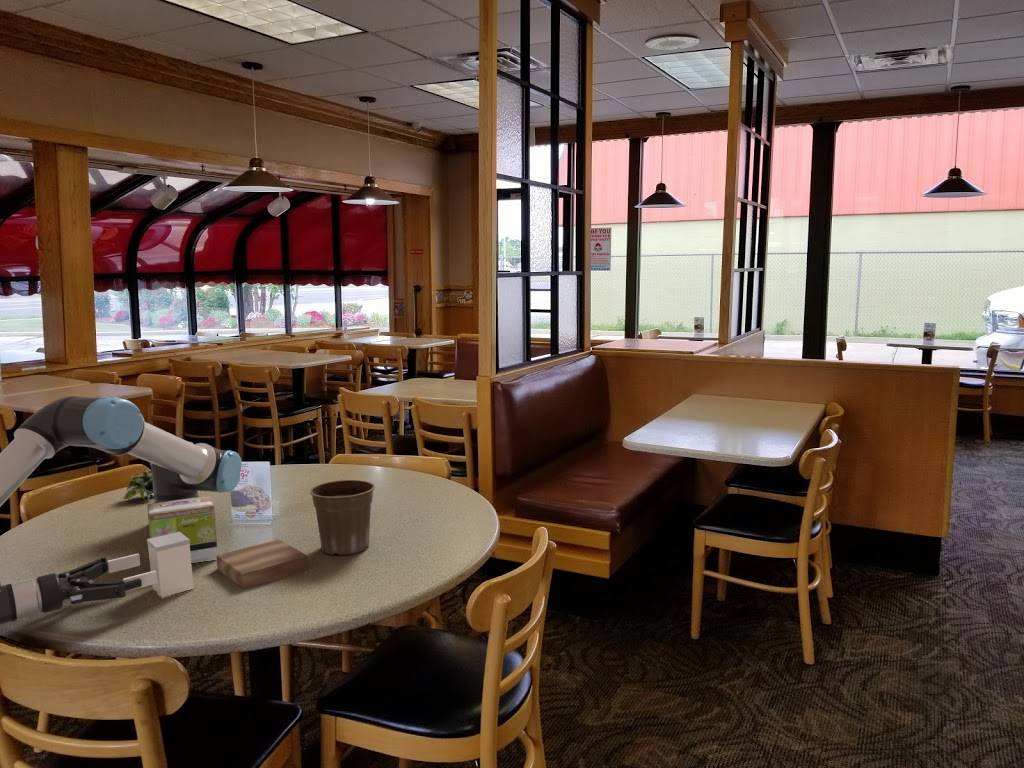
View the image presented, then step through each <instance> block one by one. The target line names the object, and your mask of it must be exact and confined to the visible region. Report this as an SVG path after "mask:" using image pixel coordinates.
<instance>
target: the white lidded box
mask: <svg viewBox="0 0 1024 768" xmlns="http://www.w3.org/2000/svg"><path fill="white" fill-rule="evenodd" d="M146 545H147V548H148V557H149V558H148V559H149V567H150V568H149V569H150V572H151V571H155V570H156V572H157V582H158V583H157V584H153V585H151V586H152V587H153V588H154V589H155V590H156V591H157V592H158V594H159V595H160V596H161V597H162V596H167V595H170V594H175V593H178V592H182V591H186V590H190V589H193V588H194V589H195V587H194V577H193V567H192V565H193V564H191V555H190V539H188V538H187V537H186V536H185V535H183V534H182V533H181V532H176V533H172V534H167V535H163V536H159V537H155V538H150V537H149V538H147V539H146ZM158 594H157V595H158ZM159 595H158V596H159ZM160 596H159V597H160Z"/></svg>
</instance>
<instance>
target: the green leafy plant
mask: <svg viewBox="0 0 1024 768" xmlns="http://www.w3.org/2000/svg"><path fill="white" fill-rule="evenodd" d="M130 479H131V480H129V481H128V483H129V484H128V485H127V487H126V491H127V492H126V493H125V495H124V497H123V500H124V499H125V500H126V499H129V500H130V499H131V498H133V497H134V496H136V495H137V494H139V496H140V498H142V499H145V495H146V497H147V500H148V499H149V500H150V497H151V496H150V495H151V494H152V493H154V491H153V483H152V474H151V469H147V470H145V471H144V470H142V471H141V474H137V475H135V476H132V475H131V477H130Z"/></svg>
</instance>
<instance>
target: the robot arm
mask: <svg viewBox="0 0 1024 768" xmlns="http://www.w3.org/2000/svg"><path fill="white" fill-rule="evenodd" d="M13 436H14V439H13V440H12V441H11V442H10V443H9V444H8V445H7V446H6V447H5V448H4V449H3V450H2V451H1V452H0V508H1V506H2V505H4V504H5V502H6V501H7V500H8V499H9V498H10V497H11V496H12V495H13V494H14V493H15V491H16V490H18V488H19V487H20V486H21V485H22V484H23V483H24V481H25V480H27V479H28V477H29V476H30V475H31V474H32V473H33V472H34V471H35V470H36V469H37V467H39V466H40V464H41V463H42V462H43V461H44V460H45V459H47V460H48V459H52V458H53V457H54V456H55V455H56V454H57V452H59V451H60V450H61V449H64V448H66V447H69V446H71V447H86V448H93V449H96V450H99V451H102V452H105V453H108V454H110V455H113V456H118V457H119V456H124V455H127V454H128V455H130V456H133V457H135V458H138V459H141V460H143V461H145V462H148V463H149V466H150V471H151V474H152V483H153V491H154V494H153V499H154V501H153V503H160V502H167V501H175V500H182V499H190V498H197V497H200V495H199V491H200V492H211V493H219V494H223V493H230V492H233V491H234V490H235V488H237V486H238V485H239V483H240V480H241V478H240V471H241V466H242V467H243V464H242V458H241V456H240V454H239V453H238V452H236V451H234V450H233V451H232V450H230V449H229V450H224V449H223V450H222V449H218V448H216V447H214V446H212V445H209V444H208V443H203V442H198V443H195V444H194V442H192V441H187V440H185V439H184V438H181V437H179V436H176V435H175V434H172V433H170V432H167V431H166V430H164V429H162V428H159V427H157V426H154V425H152V424H151V423H148V422H146V421H145V419H144V416H143V414H142V413H141V411H140V409H139V407H137V405H136V404H135V403H133V402H132V401H131V400H128V399H125V398H120V397H117V396H106V397H105V396H104V397H98V396H97V397H95V396H76V395H75V396H73V395H72V396H71V395H70V396H68V395H67V396H64V397H61V398H57V399H54V400H53V401H51V402H49V403H47V404H46V405H44V406H43V407H40V408H39V409H38V410H37V411H36V412H34V413H33V414H32V415H31V416H29V417H28V418H27V419H26V420H24V422H23V423H22V424H20V426H18V428H17V429H16V430H14V432H13ZM140 566H141V559H140V554H139V553H134V554H129V555H126V556H121V557H118V558H114V559H110V560H107V557H101V558H99V559H95V560H93V561H90V562H88V563H86V564H83V565H81V566H78V567H76V568H74V569H71V570H68V571H64V572H62V573H61V572H60V573H58V574H57V573H55V572H53V573H48V574H44V575H40V576H37V577H36V578H35V580H34V578H27V579H22V580H19V581H14V582H11V583H7V584H4V585H2V584H1V583H0V625H5V624H7V623H11V622H15V621H18V620H21V621H26V620H27V619H28V618H30V617H34V616H38V615H39V613H40V611H41V613H44V614H46V613H49V612H53V611H56V610H57V611H58V610H60V609H62V608H63V606H64V601H65V600H69V599H70V604H71V605H76V604H80V603H85V602H95V601H103V600H104V601H105V600H111V599H121V598H124V597H126V592H131V591H133V590H139V589H141V588H145V587H149V586H152V585H153V584H157V583H158V582H157V572H156V570H155V571H151V570H150V571H148V572H144V573H140V574H136V575H133V576H128V577H124V578H122V580H109V581H107V580H105V581H101V580H100V581H94V580H96V579H97V578H99V577H101V576H102V575H104V574H106V573H107V572H108V574H112V573H115V572H119V571H124V570H128V569H132V568H135V567H136V568H137V567H140Z"/></svg>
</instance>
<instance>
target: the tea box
mask: <svg viewBox="0 0 1024 768" xmlns="http://www.w3.org/2000/svg"><path fill="white" fill-rule="evenodd" d="M146 506H147V520H148V521H147V522H148V530H149V531H148V532H149V533H148V534H149V539H150V538H155V537H159V536H163V535H167V534H172V533H176V532H181V533H182V534H183V535H185V536H186V537H187V538H188V539H190V555H191V563H194V562H200V561H206V560H212V559H217V556H216V555H218V542H217V541H218V540H217V527H216V513H215V512H216V511H215V504H214V503H213V500H212V499H211V496H210V495H207V496H206V495H205V496H199V497H197V498H190V499H182V500H175V501H167V502H160V503H154V502H153V503H148V504H147V503H146Z"/></svg>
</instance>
